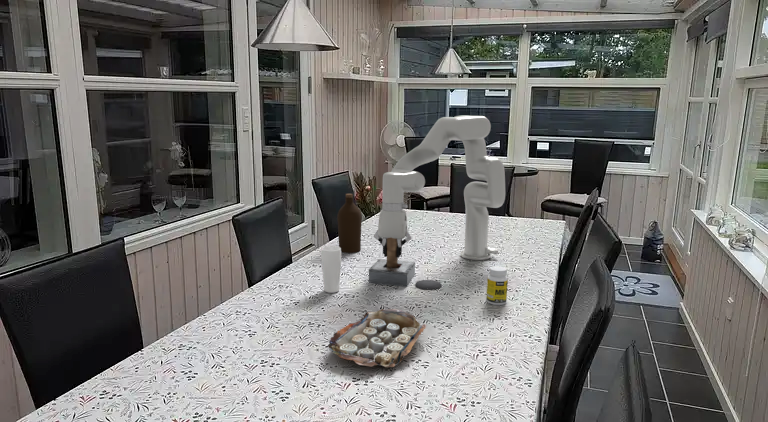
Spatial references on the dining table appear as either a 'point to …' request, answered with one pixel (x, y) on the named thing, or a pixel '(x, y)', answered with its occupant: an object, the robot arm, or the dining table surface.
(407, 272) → the grey square holed block
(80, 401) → the dining table surface
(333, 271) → the drinking glass
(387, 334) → the baking tray
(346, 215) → the olive oil
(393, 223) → the robot arm
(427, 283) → the coaster
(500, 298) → the supplement bottle
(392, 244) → the tan wooden rod
